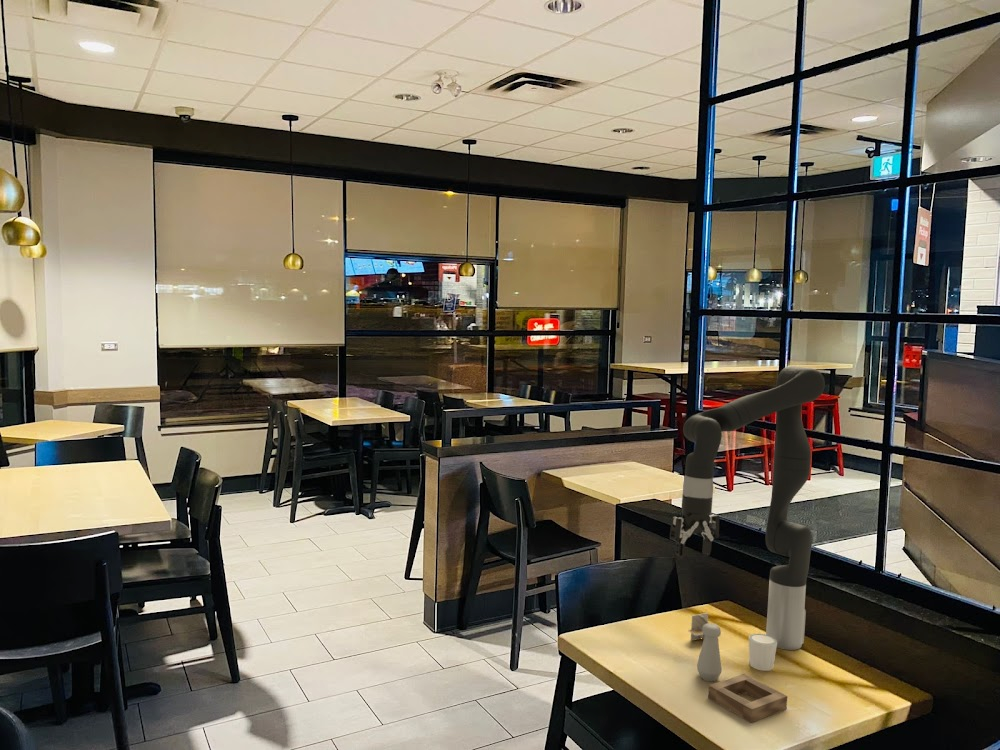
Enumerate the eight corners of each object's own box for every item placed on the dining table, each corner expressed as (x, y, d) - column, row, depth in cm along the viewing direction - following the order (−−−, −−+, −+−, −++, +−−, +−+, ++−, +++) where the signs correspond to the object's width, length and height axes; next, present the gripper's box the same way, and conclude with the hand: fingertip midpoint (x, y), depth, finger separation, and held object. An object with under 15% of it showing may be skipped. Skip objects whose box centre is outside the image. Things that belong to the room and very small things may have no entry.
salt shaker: (722, 684, 177) (725, 631, 176) (697, 681, 178) (700, 628, 177) (719, 673, 183) (722, 622, 182) (695, 670, 184) (698, 619, 183)
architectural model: (715, 644, 201) (717, 617, 201) (695, 648, 198) (697, 620, 198) (706, 639, 204) (708, 612, 204) (686, 642, 201) (688, 616, 201)
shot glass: (776, 663, 190) (778, 636, 189) (774, 674, 184) (776, 646, 183) (748, 657, 193) (750, 631, 192) (745, 668, 186) (747, 640, 186)
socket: (743, 685, 177) (743, 673, 177) (786, 708, 167) (787, 695, 167) (708, 698, 170) (708, 685, 170) (751, 722, 160) (752, 709, 160)
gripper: (708, 489, 198) (704, 549, 199) (666, 491, 191) (661, 553, 192) (729, 495, 191) (724, 557, 192) (685, 498, 185) (680, 562, 185)
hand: (693, 555), depth 192 cm, fingers open, 8 cm apart
